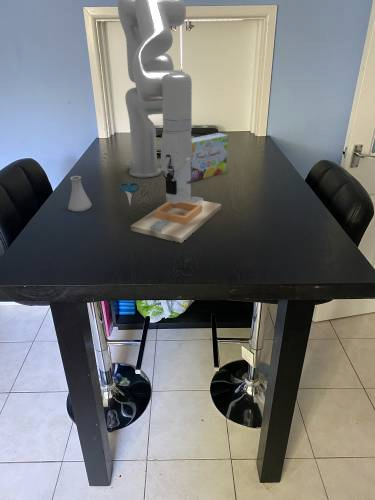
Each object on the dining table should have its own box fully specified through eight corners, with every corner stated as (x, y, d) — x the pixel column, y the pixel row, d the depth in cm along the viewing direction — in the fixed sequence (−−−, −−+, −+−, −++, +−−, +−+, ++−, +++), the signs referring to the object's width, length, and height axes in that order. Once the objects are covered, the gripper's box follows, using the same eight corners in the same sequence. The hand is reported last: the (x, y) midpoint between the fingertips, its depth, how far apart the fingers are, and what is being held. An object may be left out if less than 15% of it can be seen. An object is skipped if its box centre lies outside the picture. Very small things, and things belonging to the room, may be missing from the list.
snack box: (187, 184, 139) (186, 143, 132) (177, 180, 143) (176, 140, 135) (226, 172, 151) (228, 134, 144) (216, 169, 155) (218, 131, 148)
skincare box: (173, 204, 106) (172, 162, 100) (165, 199, 110) (164, 158, 104) (191, 200, 109) (191, 158, 103) (183, 195, 113) (182, 155, 107)
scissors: (138, 182, 139) (140, 203, 122) (138, 185, 140) (140, 206, 122) (119, 183, 138) (119, 205, 121) (120, 186, 139) (119, 207, 122)
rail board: (131, 230, 106) (130, 219, 104) (176, 199, 126) (176, 189, 124) (181, 243, 99) (181, 231, 97) (220, 208, 119) (221, 198, 117)
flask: (96, 205, 122) (92, 175, 117) (83, 213, 116) (79, 182, 111) (77, 202, 124) (72, 172, 119) (63, 210, 118) (58, 179, 113)
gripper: (180, 118, 107) (181, 178, 116) (147, 130, 94) (150, 197, 103) (204, 120, 104) (203, 182, 113) (173, 133, 91) (174, 201, 100)
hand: (178, 189), depth 108 cm, fingers closed on skincare box, 7 cm apart
